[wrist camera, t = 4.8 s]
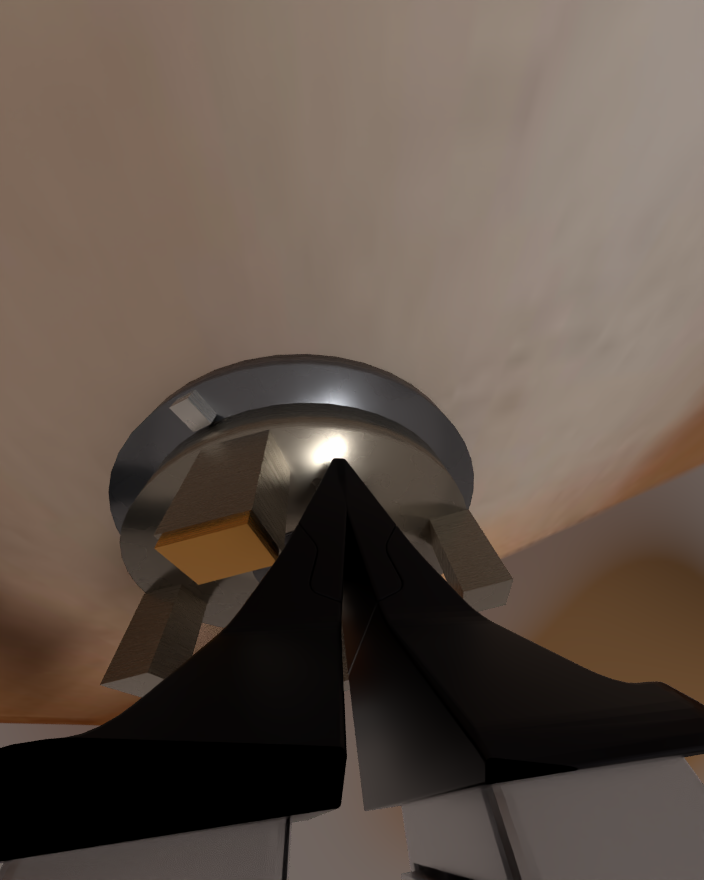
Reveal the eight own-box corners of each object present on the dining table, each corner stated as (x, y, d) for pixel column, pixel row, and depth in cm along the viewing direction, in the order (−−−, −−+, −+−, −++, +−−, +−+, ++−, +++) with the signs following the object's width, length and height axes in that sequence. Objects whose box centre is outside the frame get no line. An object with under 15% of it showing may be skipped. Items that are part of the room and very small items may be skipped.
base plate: (333, 607, 25) (335, 634, 23) (76, 546, 16) (46, 583, 14) (517, 479, 18) (540, 503, 16) (245, 229, 9) (229, 222, 7)
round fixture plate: (450, 567, 20) (493, 660, 16) (240, 621, 21) (221, 729, 16) (451, 355, 10) (570, 435, 6) (47, 464, 11) (-159, 627, 6)
